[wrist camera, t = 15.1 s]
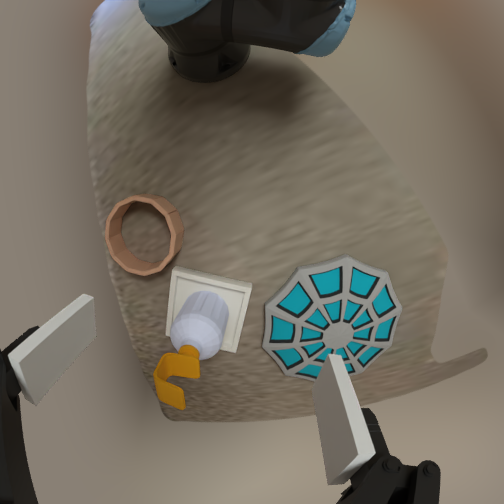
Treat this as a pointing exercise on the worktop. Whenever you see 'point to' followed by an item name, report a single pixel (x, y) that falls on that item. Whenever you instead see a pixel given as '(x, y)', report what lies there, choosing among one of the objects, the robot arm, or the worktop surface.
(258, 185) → the worktop surface
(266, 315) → the decorative platform
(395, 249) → the worktop surface
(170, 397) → the soap bottle
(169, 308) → the tray
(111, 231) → the holder ring
